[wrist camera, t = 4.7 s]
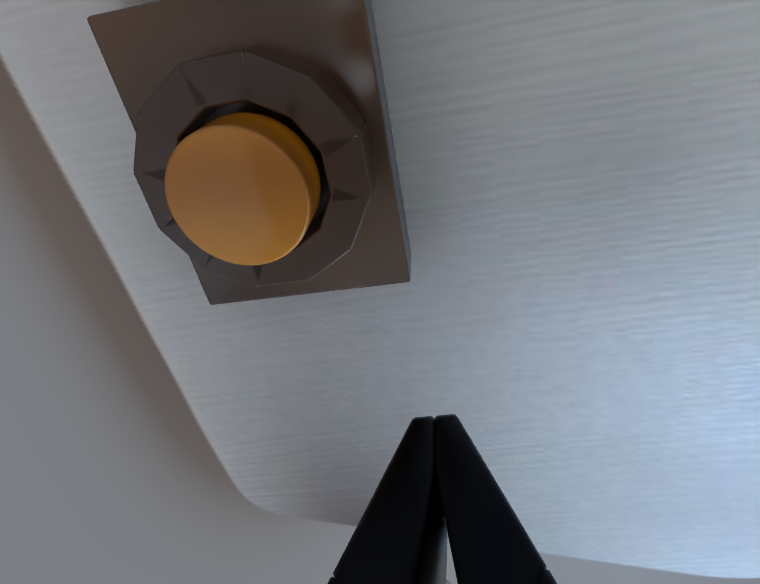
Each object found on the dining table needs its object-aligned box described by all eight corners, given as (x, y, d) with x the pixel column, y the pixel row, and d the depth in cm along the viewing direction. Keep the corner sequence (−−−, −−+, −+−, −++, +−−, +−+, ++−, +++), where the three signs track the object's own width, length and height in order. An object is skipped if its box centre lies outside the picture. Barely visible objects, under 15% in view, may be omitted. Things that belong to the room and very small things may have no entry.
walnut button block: (411, 255, 19) (409, 310, 16) (228, 277, 20) (191, 333, 17) (365, -38, 14) (348, -51, 11) (125, 14, 15) (41, 19, 12)
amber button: (334, 232, 15) (325, 257, 13) (217, 247, 16) (196, 273, 14) (302, 100, 13) (286, 113, 11) (168, 123, 13) (137, 139, 12)
